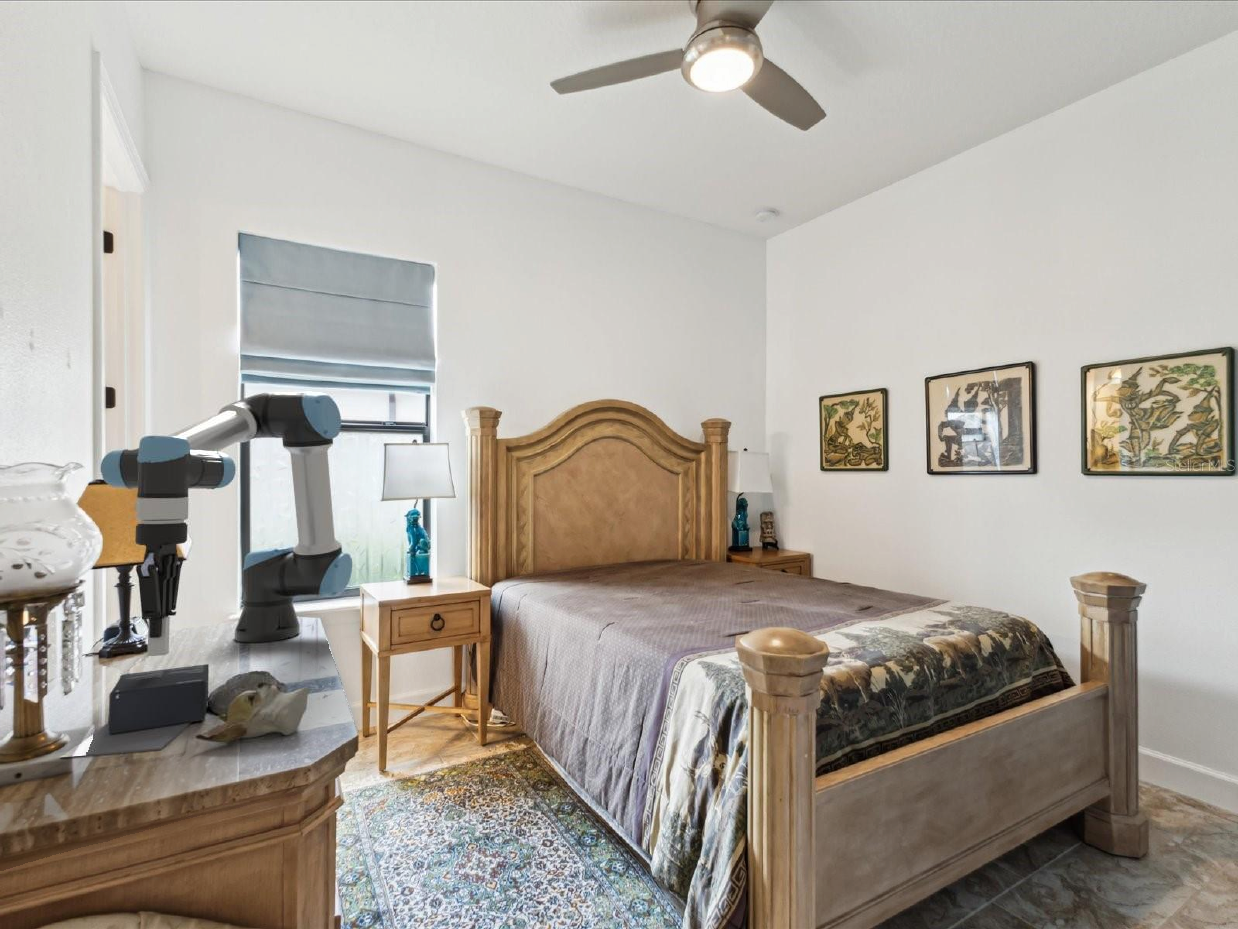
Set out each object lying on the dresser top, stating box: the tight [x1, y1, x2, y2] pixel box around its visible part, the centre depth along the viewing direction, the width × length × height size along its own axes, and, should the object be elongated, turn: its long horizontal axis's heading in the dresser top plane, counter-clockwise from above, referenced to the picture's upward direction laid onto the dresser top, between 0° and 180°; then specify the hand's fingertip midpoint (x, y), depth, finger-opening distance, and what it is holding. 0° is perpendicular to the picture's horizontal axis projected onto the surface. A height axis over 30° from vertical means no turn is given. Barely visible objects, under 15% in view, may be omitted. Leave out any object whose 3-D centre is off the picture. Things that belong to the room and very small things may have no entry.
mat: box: [86, 706, 208, 757], centre depth 103 cm, size 18×13×1 cm
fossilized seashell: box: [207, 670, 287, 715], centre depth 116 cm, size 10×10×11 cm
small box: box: [107, 663, 210, 734], centre depth 108 cm, size 13×7×12 cm
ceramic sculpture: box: [194, 683, 310, 743], centre depth 102 cm, size 11×9×15 cm
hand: (158, 654), depth 112 cm, fingers closed
